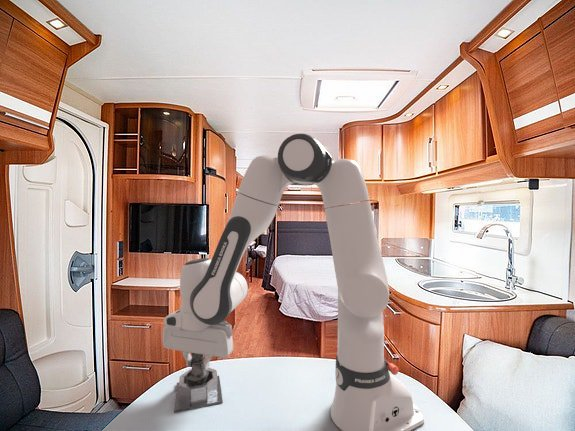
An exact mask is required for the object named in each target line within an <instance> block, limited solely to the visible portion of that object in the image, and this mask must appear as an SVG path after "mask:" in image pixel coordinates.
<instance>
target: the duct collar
mask: <svg viewBox="0 0 575 431" xmlns="http://www.w3.org/2000/svg"><path fill="white" fill-rule="evenodd" d="M191 370H192V368H191V369H189V370H187V371H186V372H184V373H183V374H181V375H180V376H179V380H178V382H176V388H175V398H174V408H173V413H180V412H185V411H189V410H195V409H200V408H205V407H210V406H214V405H215V406H216V405H220V404H223V403H224V402H223V393H222V387H221V380H220V375H218V372H217V369H215V368H211V367H209V368H208V369H207V370H208V372H209V374H208V376H207V379H206V382H207V383H206V384H204V385H198V386H190V385H189V384H190V383H189V382H188V379H187V377H186V375H187V373H188V372H189V371H191Z"/></svg>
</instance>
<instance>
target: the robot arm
mask: <svg viewBox="0 0 575 431" xmlns="http://www.w3.org/2000/svg"><path fill="white" fill-rule="evenodd" d="M313 185H315V186H316V187H317V188H319V191H320V194H321V198H322V202H323V208H324V215H325V220H326V225H327V231H328V236H329V241H330V248H331V253H332V254H331V255H332V261H333V265H334V272H335V278H336V285H337V355H336V356H335V369H334V370H335V390H334V396H333V400H332V401H333V402H332V404H331V407H330V410H329V411H330V418H331V419H332V422H334V424H335V426H336V427H338V428H339V429H340V430H341V431H413V430H414V429H417V428H418V427H420V426H422V425H423V424H424V423H425V420H424V415H423V413H422V412H421V410H420V408H419V407H418V406H417V405H416V404H415V403H414V401H413V397H412V395H411V392H410V390H409V389H408V388H407V386H406V385H405V384H404V383H403V382H401V381H400V379H398V378H397V377H396V375H398V373H399V371H400V370H399V367H398V366H397V365H395V364H394V362H393V363H392V362H389V361H388V360H387V359H386V358H385V357H384V356H385V328H384V318H383V317H384V315H383V312H384V311H385V309H386V308H387V306H388V303H389V301H390V300H389V299H390V287H389V281H388V278H387V273H386V268H385V264H384V260H383V255H382V252H381V248H380V243H379V240H378V236H377V231H376V227H375V222H374V221H375V220H374V216H373V212H372V211H373V209H372V204H371V200H370V193H369V190H368V186H367V184H366V180H365V178H364V174H363V172H362V169H361V166H360V165H359V164H358V162H356V160H353V159H350V158H339V159H338V158H337V159H333V157H332V155H331V154H330V153H329V151H328V150H327V149H326V148H325V147H324V146H323V145H322V143H321V142H320V141H319V140H318V139H317V138H315V137H313V136H312V135H310V134H306V133H294V134H292V135H290V136H288V137H286V139H284V140H283V141H282V143H281V144H280V146H279V147H278V151H277V157H274V156H271V155H270V156H269V155H258V156H256V157H254V158H253V159H252V160H251V162H250V164H249V166H248V167H247V169H246V171H245V173H244V175H243V177H242V179H241V182H240V184H239V187H238V190H237V193H236V196H235V199H234V203H233V205H232V208H231V211H230V214H229V217H228V219H227V221H226V224H225V227H224V229H223V232H222V233H221V236H220V238H219V240H218V243H217V246H216V248H215V250H214V253H213V255H212V258H208V257H204V258H203V257H201V258H197V259H192V260H189V261H187V262H185V263H184V264H183V265H182V267H181V272H180V278H179V279H180V280H179V294H180V298H181V302H180V306H179V309H177V310H175V311H173V312H171V313H169V314H168V315H166V316H164V317H163V324H164V325H163V328H162V345H163V347H164V348H165V349H168V350H174V351H178V352H179V351H180V352H181V353H182V354H181V355H182V356H183V359H184V360H185V364H186V367H189V368H192V363H191V360H192V353H197V354H203V356H204V361H203V362H202V363H201V366H202V367H201V369H204V370H207V369H208V368H210V361H211V359H212V358H213V357H215V358H223V359H226V358H228V357H229V356H230V355H231V354H232V352H233V351H234V341H233V327H232V325H231V324H230V323H229V322H228V321H227V320H225V319H226V318H228V316H229V315H230V314H231V312H233V311H234V310H235V309H236V308H237V307H238V306H239V305H240V304H241V303H242V302H243V301H244V300H245V299H246V297H247V296H248V293H249V292H248V291H249V285H248V282H247V279H246V278H245V276H244V275H243V274H242V273H240V272H239V271H237V270H238V269H239V266H240V264H241V261H242V258H243V256H244V254H245V252H246V250H247V248H249V246H250V245H251V244H252V243H253V242H254V241H255V240H256V239H257V238H259V237H260V235H262V234H263V233H265V231H267V230H268V229H269V227H270V225H271V224H272V223H273V222H272V221H273V220H274V218H275V216H276V214H277V212H278V211H277V210H278V209H279V205H280V202H281V200H282V196H283V194H284V192H285V190H286V188H287V187H289V186H306V187H307V186H313Z"/></svg>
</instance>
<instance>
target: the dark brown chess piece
mask: <svg viewBox="0 0 575 431" xmlns="http://www.w3.org/2000/svg"><path fill="white" fill-rule="evenodd" d="M191 357H192V360H191V363H192V367H191V371H189V372H188V373H187V375H186V377H187V379H188V382H189V383H190V384H189V385H190V386H198V385H204V384H206V383H207V382H206V379H207V376H208V374H209V372H208V370H204V369H201V367H202V366H201V363H202V362H203V361H204V360H205V357H204V355H203V354H197V353H191Z"/></svg>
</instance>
